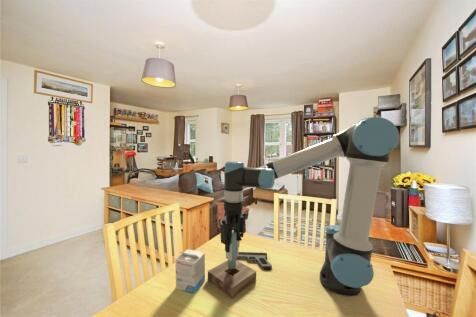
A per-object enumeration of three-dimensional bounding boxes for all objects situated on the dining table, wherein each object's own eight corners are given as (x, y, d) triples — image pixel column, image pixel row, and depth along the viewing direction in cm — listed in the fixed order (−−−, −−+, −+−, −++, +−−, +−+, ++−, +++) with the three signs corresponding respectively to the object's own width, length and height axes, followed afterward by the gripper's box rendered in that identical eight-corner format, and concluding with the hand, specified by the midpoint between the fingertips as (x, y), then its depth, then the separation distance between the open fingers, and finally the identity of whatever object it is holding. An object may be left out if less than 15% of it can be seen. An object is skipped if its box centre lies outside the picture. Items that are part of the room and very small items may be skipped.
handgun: (272, 266, 91) (268, 252, 103) (235, 265, 91) (235, 251, 103) (272, 270, 91) (268, 256, 103) (234, 269, 91) (235, 255, 103)
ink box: (205, 280, 83) (205, 248, 82) (194, 294, 75) (194, 259, 74) (187, 275, 86) (187, 244, 85) (175, 288, 78) (175, 254, 77)
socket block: (256, 280, 83) (256, 271, 83) (231, 298, 73) (232, 288, 73) (231, 266, 93) (232, 257, 93) (207, 280, 83) (207, 271, 83)
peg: (237, 266, 83) (238, 233, 82) (231, 270, 81) (232, 235, 80) (231, 263, 85) (232, 230, 84) (226, 266, 83) (226, 233, 82)
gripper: (240, 195, 90) (239, 246, 91) (211, 201, 78) (210, 261, 79) (253, 198, 84) (252, 253, 86) (224, 206, 73) (223, 269, 74)
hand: (232, 257), depth 83 cm, fingers closed on peg, 3 cm apart
